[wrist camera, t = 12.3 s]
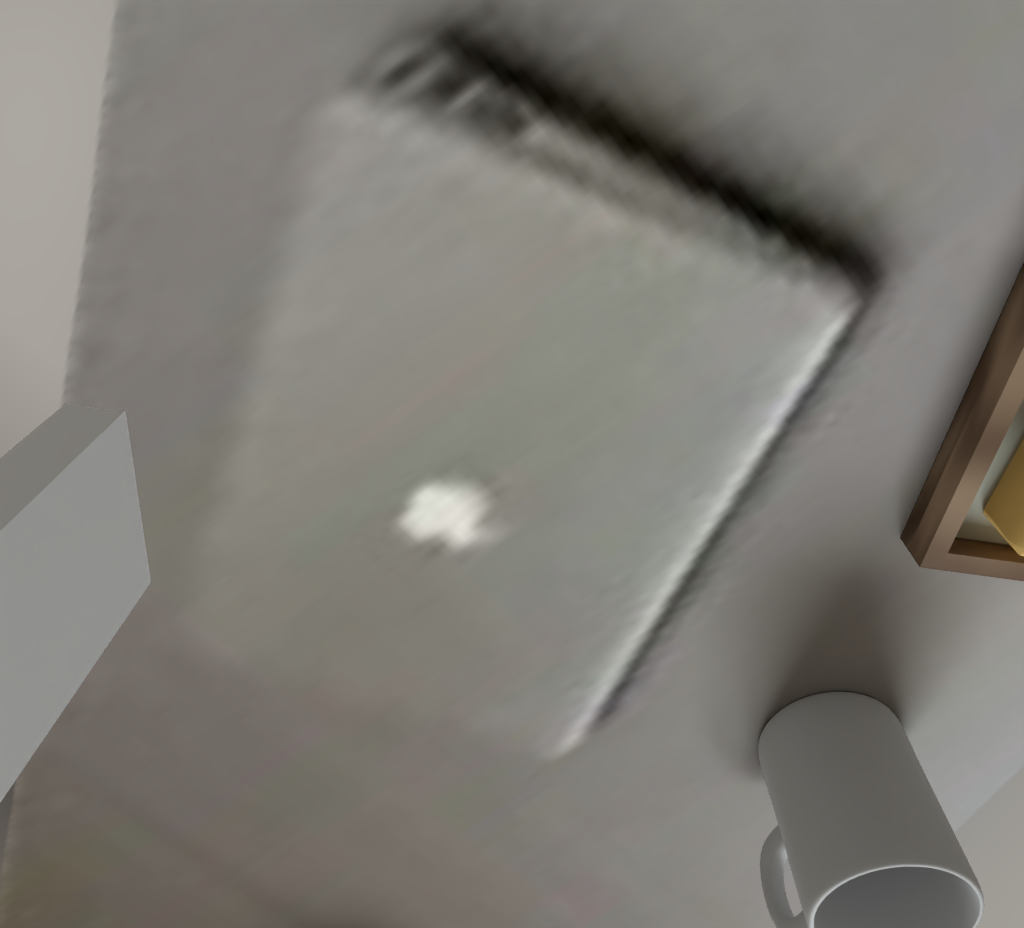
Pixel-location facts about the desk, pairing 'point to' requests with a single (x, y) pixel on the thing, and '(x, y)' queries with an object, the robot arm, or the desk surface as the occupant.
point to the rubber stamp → (1009, 503)
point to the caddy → (976, 462)
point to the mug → (858, 823)
